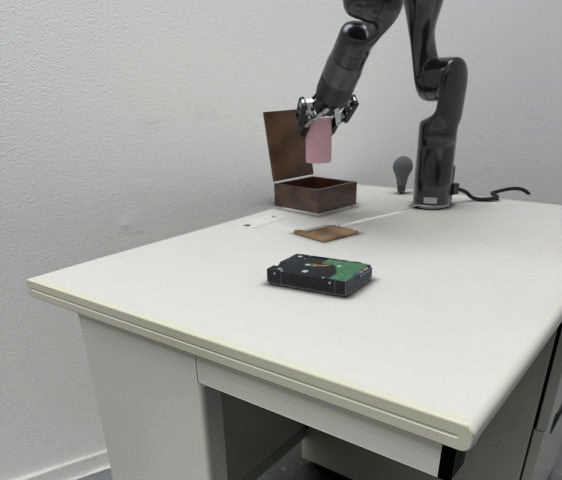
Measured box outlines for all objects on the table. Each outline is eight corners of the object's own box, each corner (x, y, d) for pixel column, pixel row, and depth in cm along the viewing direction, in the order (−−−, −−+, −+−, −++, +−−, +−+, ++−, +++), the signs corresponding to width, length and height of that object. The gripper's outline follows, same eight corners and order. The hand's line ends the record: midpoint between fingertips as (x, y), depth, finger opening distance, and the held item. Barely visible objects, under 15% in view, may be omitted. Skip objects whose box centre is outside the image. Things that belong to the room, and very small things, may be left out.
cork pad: (327, 225, 125) (327, 223, 125) (358, 233, 118) (358, 230, 118) (293, 233, 120) (293, 230, 120) (323, 242, 113) (324, 239, 113)
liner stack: (319, 159, 132) (320, 116, 128) (337, 161, 128) (338, 116, 123) (299, 162, 129) (298, 117, 124) (317, 164, 124) (317, 118, 120)
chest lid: (305, 108, 143) (303, 108, 144) (264, 111, 134) (262, 112, 135) (313, 174, 149) (311, 174, 150) (274, 181, 140) (272, 181, 141)
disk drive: (266, 285, 91) (347, 297, 84) (265, 269, 90) (347, 280, 83) (296, 267, 99) (372, 278, 92) (296, 252, 98) (373, 262, 91)
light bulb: (409, 191, 159) (412, 154, 154) (411, 194, 154) (414, 157, 149) (390, 191, 160) (392, 155, 155) (392, 195, 155) (394, 157, 150)
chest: (356, 206, 143) (357, 181, 139) (318, 216, 134) (318, 190, 131) (312, 199, 153) (312, 175, 150) (274, 208, 144) (274, 183, 141)
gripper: (365, 60, 115) (337, 119, 130) (303, 61, 110) (282, 123, 125) (377, 89, 113) (347, 145, 128) (314, 91, 108) (291, 149, 124)
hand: (315, 134), depth 127 cm, fingers closed on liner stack, 6 cm apart
